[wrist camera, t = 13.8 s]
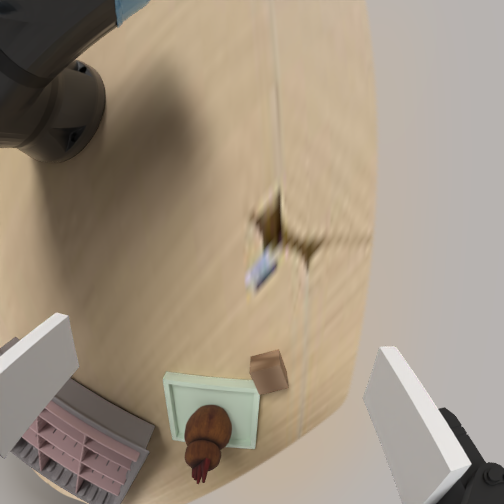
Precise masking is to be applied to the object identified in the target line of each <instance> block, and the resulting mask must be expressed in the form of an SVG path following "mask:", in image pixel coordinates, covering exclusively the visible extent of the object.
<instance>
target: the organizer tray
mask: <svg viewBox="0 0 504 504" xmlns="http://www.w3.org/2000/svg"><path fill="white" fill-rule="evenodd" d="M19 341H20V340H19V339H18V338H17V337H15V338H13V339H12V340H11V341H9V342H8V343H7V344H5V345H4V346H3V347H1V348H0V356H1V355H3V354H4V353H5V352H6V351H7V350H9V349H10V348H11V347H12V346H14V345H15V344H16V343H17V342H19ZM154 428H155V426H154V425H152V424H149V423H147V422H145V421H143V420H141V419H139V418H137V417H136V416H134V415H132V414H130V413H128V412H126V411H124V410H122V409H121V408H119V407H117V406H115V405H113V404H112V403H110V402H108V401H106V400H105V399H103V398H101V397H100V396H98V395H96V394H95V392H94V393H93V392H91V391H90V390H88V389H87V388H85V387H83V386H82V385H80V384H79V383H77V382H76V381H74V380H73V379H71V378H69V379H68V381H67V382H66V383H65V384H64V385H63V386H62V388H61V389H60V390H59V391H58V392H57V394H56V395H55V396H54V397H53V398H52V400H51V401H50V402H49V403H48V404H47V406H46V407H45V408H44V409H43V411H42V412H41V413H40V414H39V415H38V417H37V418H36V419H35V420H34V422H33V423H32V424H31V425H30V427H29V428H28V429H27V430H26V432H25V433H24V434H23V436H22V437H21V438H20V439H19V441H18V442H17V443H16V445H15V446H14V447H13V449H12V450H11V451H10V452H12V453H13V454H14V455H16V456H17V457H18V458H19V459H21V460H22V461H23V462H25V463H26V464H27V465H29V466H30V467H31V468H33V469H34V470H36V471H37V472H38V473H40V474H41V475H43V476H44V477H46V478H47V479H49V480H50V481H52V482H53V483H55V484H56V485H58V486H60V487H61V488H63V489H65V490H66V491H68V492H70V493H71V494H73V495H75V496H76V497H78V498H80V499H82V500H84V501H85V502H87V503H89V504H121V502H122V501H123V499H124V497H125V495H126V494H127V492H128V490H129V488H130V486H131V485H132V483H133V481H134V479H135V478H136V476H137V474H138V472H139V470H140V469H141V467H142V465H143V463H144V462H145V460H146V458H147V456H148V454H149V451H148V450H146V447H147V445H148V442H149V440H150V437H151V435H152V433H153V430H154Z"/></svg>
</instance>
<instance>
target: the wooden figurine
mask: <svg viewBox="0 0 504 504" xmlns="http://www.w3.org/2000/svg"><path fill="white" fill-rule="evenodd" d="M231 434H232V424H231V421H230V418H229V416H228V414H227V412H226V411H225V410H224V409H223V408H221V407H220V406H217V405H205V406H202V407H200V408H198V409H197V410H196V411H195V412H194V413H193V414H192V415H191V416H190V418H189V419H188V421H187V424H186V427H185V433H184V439H185V442H186V444H187V446H188V447H187V449H186V452H185V461H186V463H187V464H188V465H189V466H190V467H191V468H192V478H194V480H197V484H199V482H200V480H201V477H202V483H204V482H205V480H206V476H207V472H208V471H210V470H213V469H214V468H215V467H217V465H218V464H219V462H220V458H221V451H220V450H221V449H223V448H224V447H226V446H227V444H228V443H229V441H230V438H231Z"/></svg>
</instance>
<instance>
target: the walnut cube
mask: <svg viewBox="0 0 504 504" xmlns="http://www.w3.org/2000/svg"><path fill="white" fill-rule="evenodd" d="M250 375H251V377H252V380H253V382H254V384H255V387H256V389H257V391H258V393H259V395H261V394H266V393H270V392H274V391H278V390H282V389H286V388H288V381H287V371H286V368H285V366H284V363H283V360H282V357H281V354H280V351H279V349H278V350H275V351H271V352H267V353H263V354H259V355H256V356H252V357H251V361H250Z"/></svg>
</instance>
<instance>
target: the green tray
mask: <svg viewBox="0 0 504 504" xmlns="http://www.w3.org/2000/svg"><path fill="white" fill-rule="evenodd" d="M163 384H164V392H165V398H166V405H167V411H168V417H169V423H170V429H171V434H172V440H176V441H182V442H185V439H184V433H185V427H186V424H187V421H188V419H189V418H190V416H191V415H192V414H193V413H194V412H195V411H196V410H197V409H198V408H200V407H202V406H205V405H217V406H220V407H221V408H223V409H224V410H225V411H226V412H227V414H228V416H229V418H230V421H231V424H232V434H231V438H230V441H229V443H228V444H227V446H226V447H232V448H246V449H255V444H256V433H257V422H258V410H259V399H260V395H259V393H258V391H257V389H256V387H255V384H254V382H253V380H242V379H229V378H217V377H207V376H198V375H189V374H181V373H174V372H167V371H166V373H165V376H164V378H163Z"/></svg>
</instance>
